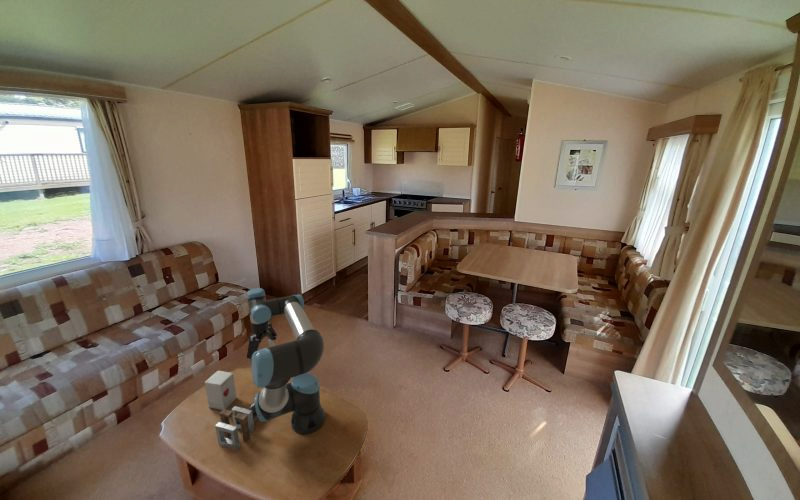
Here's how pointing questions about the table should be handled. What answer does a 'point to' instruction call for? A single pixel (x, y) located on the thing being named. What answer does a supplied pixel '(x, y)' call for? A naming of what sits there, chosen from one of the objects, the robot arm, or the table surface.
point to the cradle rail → (255, 417)
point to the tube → (252, 408)
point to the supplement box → (220, 390)
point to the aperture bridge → (239, 417)
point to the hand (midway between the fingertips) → (264, 359)
